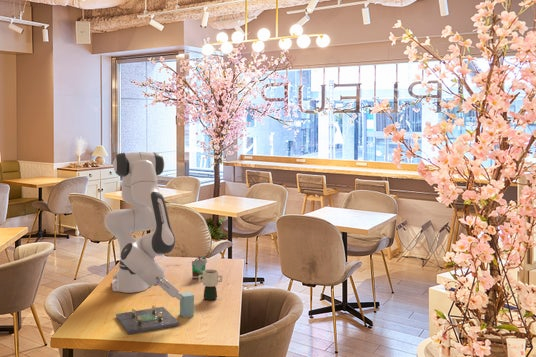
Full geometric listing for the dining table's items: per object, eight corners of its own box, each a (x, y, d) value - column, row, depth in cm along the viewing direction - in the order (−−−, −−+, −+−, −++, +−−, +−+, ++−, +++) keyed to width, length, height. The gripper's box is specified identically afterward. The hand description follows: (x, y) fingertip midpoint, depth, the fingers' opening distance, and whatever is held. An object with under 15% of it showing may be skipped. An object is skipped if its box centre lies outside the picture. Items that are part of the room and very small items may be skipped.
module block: (179, 314, 221) (179, 293, 220) (189, 312, 223) (190, 292, 222) (183, 317, 217) (183, 296, 216) (193, 316, 219) (193, 295, 218)
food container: (203, 281, 269) (203, 261, 268) (191, 280, 270) (191, 261, 269) (209, 274, 281) (209, 256, 280) (198, 273, 282) (198, 255, 281)
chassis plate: (116, 317, 216) (115, 306, 215) (163, 310, 225) (163, 299, 225) (128, 334, 198) (128, 323, 198) (178, 325, 208) (179, 314, 207)
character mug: (222, 296, 245) (222, 269, 244) (221, 301, 238) (222, 273, 237) (199, 296, 245) (199, 269, 243) (197, 301, 237) (198, 273, 236)
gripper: (167, 275, 203) (190, 296, 209) (151, 262, 221) (173, 282, 226) (155, 287, 201) (180, 308, 207) (141, 274, 219) (163, 294, 225)
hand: (176, 295), depth 217 cm, fingers open, 8 cm apart
